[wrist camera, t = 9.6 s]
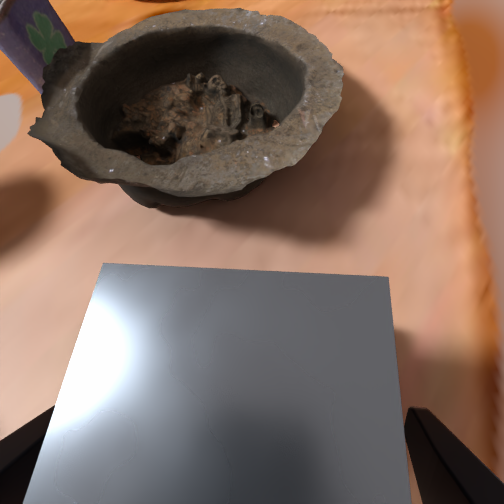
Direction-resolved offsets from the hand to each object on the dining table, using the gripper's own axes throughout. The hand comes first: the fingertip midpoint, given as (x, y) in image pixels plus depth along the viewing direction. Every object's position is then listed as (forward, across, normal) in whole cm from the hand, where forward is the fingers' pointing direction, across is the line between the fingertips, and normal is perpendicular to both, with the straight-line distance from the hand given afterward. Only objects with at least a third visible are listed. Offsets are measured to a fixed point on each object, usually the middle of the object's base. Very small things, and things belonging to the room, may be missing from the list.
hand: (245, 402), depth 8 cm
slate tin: (+6, 0, +6) cm, 8 cm away
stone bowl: (+24, +7, -8) cm, 27 cm away
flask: (+32, +27, -15) cm, 45 cm away
